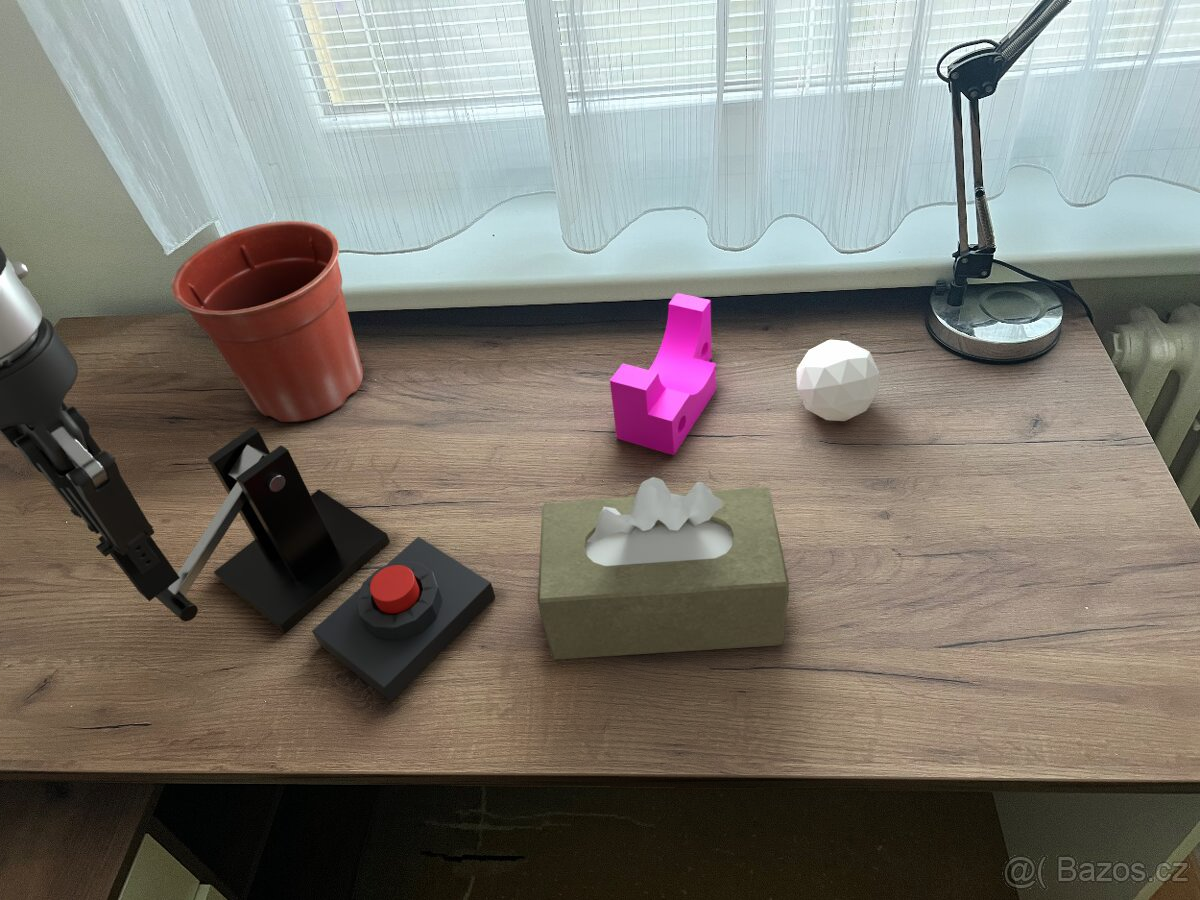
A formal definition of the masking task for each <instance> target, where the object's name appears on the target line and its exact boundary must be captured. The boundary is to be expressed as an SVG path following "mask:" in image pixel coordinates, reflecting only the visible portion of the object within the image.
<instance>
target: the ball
mask: <svg viewBox="0 0 1200 900" xmlns="http://www.w3.org/2000/svg"><path fill="white" fill-rule="evenodd" d="M795 371H796V388H797V392H798V394H799V397H800V398H801V401H802V404H803V406H804V409H805V410H807V411H809V412H811V413H813V414H814V415H816V416H818V417H819V418H822V419H824V420H825V421H835V422H846V421H848V420H850V419H852V418H855V417H856V416H858V415H861V414H863V413H865V412H866V411H867V410H868V409H869V408H870V405H871V404H872V402H873V401H874V400H875V398H876V396H877V395H878V393H879V392H880V371H879V368H878V366H877V364H876V363H875V360H874V358H873V356H872V353H871V352H870V351H869V350H868V349H865V348H863V347H860V346H858V345H856V344H854V343H853V342H850V341H848V340H838V339H829V340H826V341H824V342H822V343H820V344H818V345H816V346H815V347H812V348H811V349H808V351H807V352H806V353H805V355H804V357H803V359H802V360H801V362H800V364H798V366H797V368H796V370H795Z"/></svg>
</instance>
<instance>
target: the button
mask: <svg viewBox="0 0 1200 900" xmlns="http://www.w3.org/2000/svg"><path fill="white" fill-rule="evenodd" d="M370 592H371V595H372V597H373V599H374V601H375V603H376V605H377V607H378V608H379V609H380V610H381V611H383V612H385V613H388V614H397V613H401V612H404V611H406V610H408V609H409V608H411V607H412V606H413V605H414V604H415V602H416V601H417V599H418V597H419V586H418V584H417V581H416V579H415V576H414V574H413V572H412V571H411V570H410V569H409V568H407V567H405V566H401V565H394V566H389V567H386V568H384V569H382V570H381V571H379V572H378V573H377V574H376V575H375V576H374V578H373V579H372V581H371V584H370Z"/></svg>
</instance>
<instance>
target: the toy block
mask: <svg viewBox="0 0 1200 900" xmlns="http://www.w3.org/2000/svg"><path fill="white" fill-rule="evenodd" d="M711 302H712V300H711V299H706V298H702V297H699V296H698V297H697V296H692V295H687V294H684V293H679V292H676V294H675V295H674V296H673V297H672V299H671V300H670V301H669V303H668V312H667V321H666V326H665V331H664V334H663V338H662V342H661V344H660V347H659V350H658V353H657V355H656V356H655V359H654V360H653V362H652V364H651V365H650V367H649V369H646V368H641V367H638V366H634V365H629V364H626V363H622V364H621V365H620V367H619V368H618V369H617V371H615V373H614V374H613V375H612V377H611V378H610V380H609V386H610V395H611V402H612V410H613V418H614V419H613V421H614V426H615V427H614V428H615V435H616V439H618V440H621V441H625V442H627V443H631V444H635V445H637V446H641V447H645V448H648V449H651V450H654V451H655V450H656V451H658V452H661V453H664V454H667V455H672V456H675V455H676V454H677V452H678V450H679V449H680V447H681V445H682V444H683V443H684V441H685V439H686V438H687V436H688V434H689V433H690V432H691V430H692V428H693V427H694V425H695V423H696V422H697V421H698V419H699V418H700V416H701V414H702V413H703V411H704V410H705V408H706V406H707V405H708V403H709V402H710V400H711V398H712V397H713V396H714V394H715V392H716V390H717V363H715V362H711V360H712V306H711V305H712V304H711Z"/></svg>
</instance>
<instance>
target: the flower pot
mask: <svg viewBox="0 0 1200 900" xmlns="http://www.w3.org/2000/svg"><path fill="white" fill-rule="evenodd" d="M339 255H340V246H339V241H338V239H337V237H336V235H335V234H334V233H333V232H332V231H331V230H330V229H328V228H326V227H324V226H322V225H319V224H316V223H315V222H309V221H303V220H301V221H300V220H282V221H281V220H280V221H274V222H273V221H271V222H266V223H260V224H256V225H252V226H248V227H245V228H242V229H239V230H236V231H233V232H231V233H228V234H226V235H223V236H221V237H220V238H217V239H215V240H213V241H211V242H209V243H208V244H206V245H204V246H203V247H201V248H199V250H197V251H196V252H194V253H193V254H192V255H191V256H189V257H188V258H187V259H186V260H185V261H184V262H183V263H182V265H181V266H179V267H178V269H177V270H176V272H175V273H174V275H173V278H172V281H171V286H170V288H171V294H172V297H173V299H174V300H175V301H176V303H178V304H179V305H180V307H181V308H183V309H184V310H186V311H188V312H189V313H190V315H191V316H192V318H193V319H194V321H195V322H196V323H197V325H198V327H199V328H200V329H201V330H202V331H203V332H204V333H205V334H207V335H208V336H209V337H210V339H211V340H212V342H213V343H214V345H215V347H216V348H217V349H218V351H219V352H220V354H221V356H222V357H223V359H224V360H225V362H226V364H227V365H228V366H229V368H230V369H231V371H232V373H233V374H234V375H235V377H236V379H237V380H238V381H239V383H240V385H241V386H242V388H243V389H244V391H245V392H246V394H247V395H248V396H249V398H250V400H251V401H252V403H253V404H254V406H255V407H256V409H257V410H258V411H259V413H260V414H262V415H263V416H264V417H271V418H273V419H276V420H278V421H279V422H283V423H297V422H298V423H299V422H305V421H309V420H313V419H317V418H320V417H323V416H325V415H328V414H330V413H332V412H334V411H335V410H337V409H339V408H340V407H342V406H343V405H344V404H345V402H346V400H347V398H349V396H350V395H352V394H355V393H357V391H358V390H359V388H360V387H361V385H362V381H363V377H364V370H363V369H364V368H363V365H362V362H361V359H360V354H359V350H358V346H357V343H356V338H355V335H354V332H353V327H352V324H351V320H350V316H349V313H348V308H347V304H346V300H345V297H344V292H343V289H342V286H343V277H342V272H341V268H340V265H339Z"/></svg>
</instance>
